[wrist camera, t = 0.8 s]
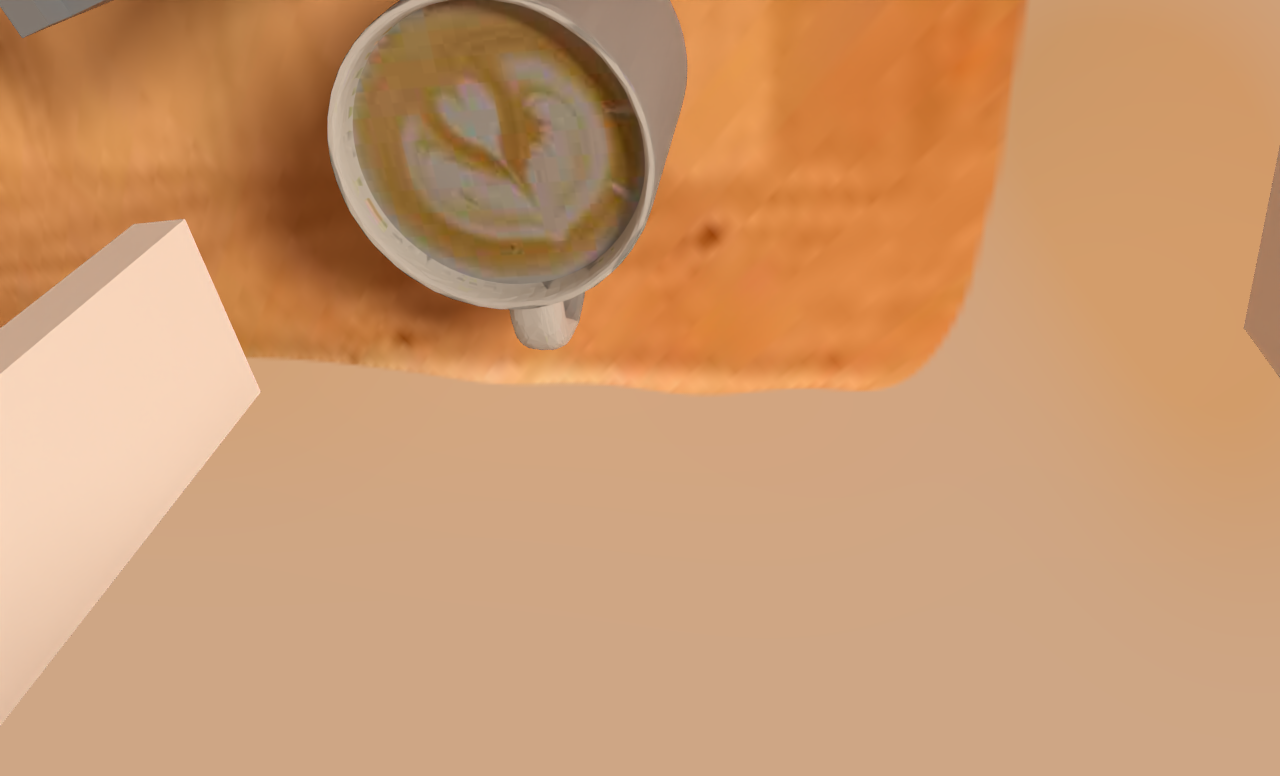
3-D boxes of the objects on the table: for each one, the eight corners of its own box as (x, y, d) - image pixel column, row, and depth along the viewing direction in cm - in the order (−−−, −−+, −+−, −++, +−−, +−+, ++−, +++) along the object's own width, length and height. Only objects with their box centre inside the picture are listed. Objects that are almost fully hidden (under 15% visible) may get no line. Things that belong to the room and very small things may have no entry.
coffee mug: (427, -97, 35) (314, -40, 27) (706, -54, 35) (678, 18, 26) (428, 244, 43) (340, 370, 34) (657, 282, 42) (623, 420, 34)
